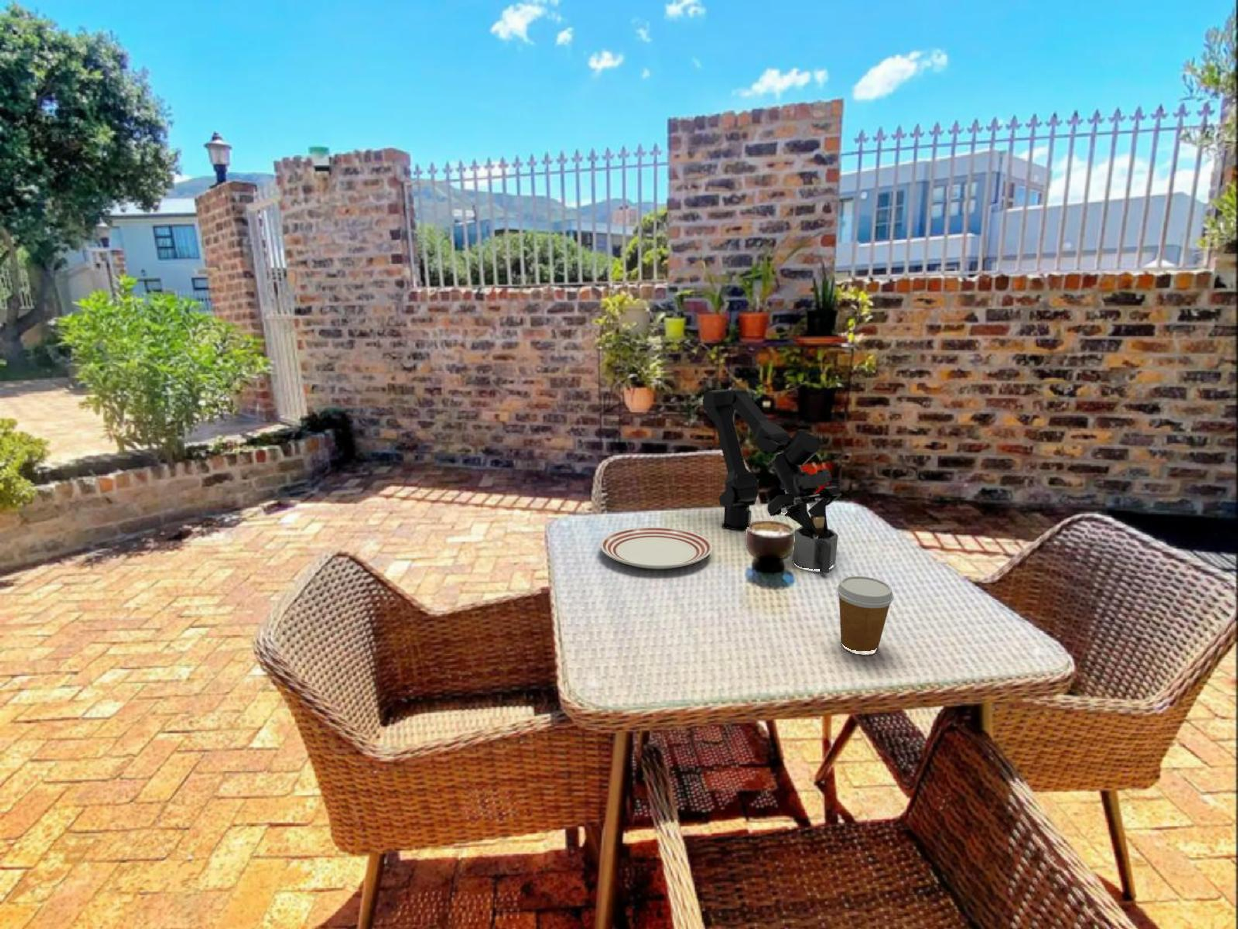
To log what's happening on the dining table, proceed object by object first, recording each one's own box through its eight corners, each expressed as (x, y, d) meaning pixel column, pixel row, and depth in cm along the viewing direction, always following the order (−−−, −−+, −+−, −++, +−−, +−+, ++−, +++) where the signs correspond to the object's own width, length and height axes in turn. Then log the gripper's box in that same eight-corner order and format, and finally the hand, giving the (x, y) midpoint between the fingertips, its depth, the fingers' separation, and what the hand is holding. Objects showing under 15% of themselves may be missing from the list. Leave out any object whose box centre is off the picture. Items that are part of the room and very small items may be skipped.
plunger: (796, 562, 152) (799, 518, 149) (801, 552, 158) (805, 510, 155) (826, 567, 149) (830, 523, 146) (830, 557, 155) (834, 514, 152)
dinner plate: (599, 536, 172) (599, 524, 171) (701, 535, 173) (702, 523, 172) (601, 579, 146) (601, 566, 145) (721, 578, 147) (722, 564, 146)
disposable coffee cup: (843, 628, 124) (848, 570, 121) (894, 645, 118) (901, 584, 115) (823, 648, 117) (828, 587, 114) (877, 667, 111) (884, 603, 108)
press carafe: (788, 557, 158) (790, 526, 156) (824, 556, 158) (827, 525, 156) (805, 577, 146) (808, 544, 144) (844, 576, 147) (847, 543, 145)
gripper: (778, 462, 147) (809, 522, 140) (839, 453, 155) (871, 510, 148) (754, 486, 155) (782, 544, 149) (813, 477, 164) (842, 532, 157)
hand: (820, 532), depth 150 cm, fingers closed on plunger, 3 cm apart
